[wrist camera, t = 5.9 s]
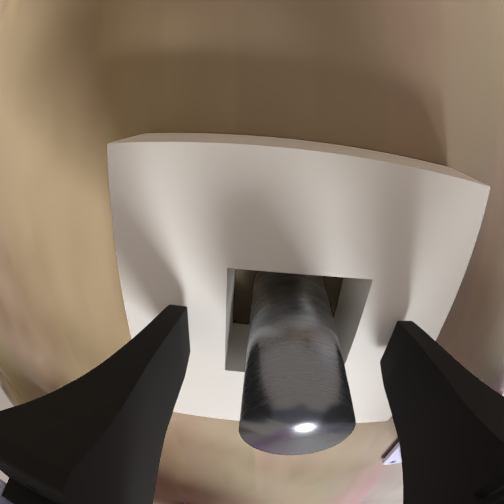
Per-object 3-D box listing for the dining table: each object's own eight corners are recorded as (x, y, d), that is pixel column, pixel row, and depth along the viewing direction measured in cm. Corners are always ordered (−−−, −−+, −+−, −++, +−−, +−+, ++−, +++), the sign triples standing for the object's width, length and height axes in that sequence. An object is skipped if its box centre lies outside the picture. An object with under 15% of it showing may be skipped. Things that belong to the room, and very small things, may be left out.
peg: (331, 261, 12) (374, 400, 6) (313, 318, 14) (332, 456, 8) (259, 249, 12) (247, 392, 6) (248, 309, 14) (233, 450, 7)
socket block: (448, 166, 10) (490, 186, 8) (376, 379, 16) (388, 420, 13) (144, 133, 11) (107, 143, 8) (164, 365, 16) (149, 407, 13)
